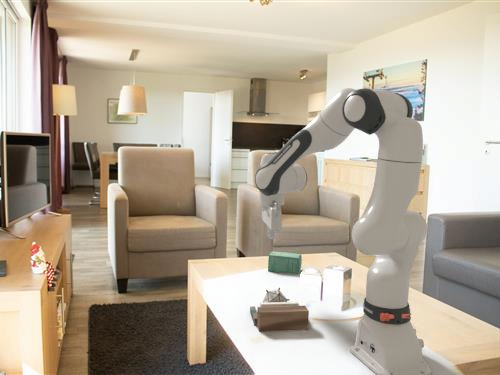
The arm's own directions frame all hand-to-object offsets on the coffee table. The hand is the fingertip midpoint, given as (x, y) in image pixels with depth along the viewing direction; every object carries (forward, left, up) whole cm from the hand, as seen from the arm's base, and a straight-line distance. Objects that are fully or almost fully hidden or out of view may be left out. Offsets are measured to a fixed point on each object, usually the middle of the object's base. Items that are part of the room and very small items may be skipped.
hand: (270, 238), depth 162 cm
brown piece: (-19, 0, -22) cm, 29 cm away
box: (+35, -13, -23) cm, 43 cm away
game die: (-12, 0, -23) cm, 26 cm away
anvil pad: (-18, 0, -22) cm, 29 cm away
